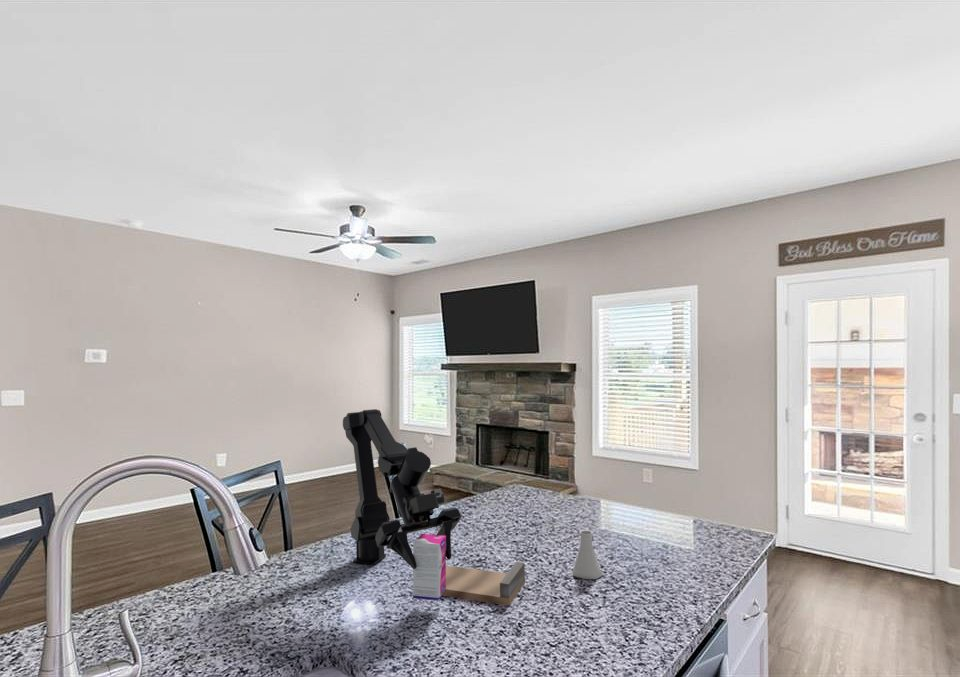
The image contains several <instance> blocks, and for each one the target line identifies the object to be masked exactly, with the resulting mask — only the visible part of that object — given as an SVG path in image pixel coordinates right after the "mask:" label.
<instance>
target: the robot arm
mask: <svg viewBox="0 0 960 677" xmlns="http://www.w3.org/2000/svg"><path fill="white" fill-rule="evenodd" d="M342 428H343V430H344V431H345V437H346V439H347V440H348V441H349V442H350V443H351V444H352V446H353V452H354V460H355V468H356V479H357V485H358V486H357V487H358V495H359V502H358V504H357V506H356V508H355V511H354V513H355V514H354V515H355V517H354V520H353V522H352V524H351V527H350V537H351V538H352V539H353V540H355V544H356V545H355V546H356V548H355V549H356V554H355V555H356V558H354V559H353V560H352V562H353V563H356V564H357V563H358V564H364V565H370V566H371V565H372V566H374V565H376V564H378V562H380V561H381V560H383V559H385V558H386V557H387V554H386V553H385V547H386V549H387V550H391V551H393V552H395V553H396V554H397V555H399V557H401V559H403V561H405V562H406V564H408V566H409V567H411V568H412V570H413V569H416V567H417V565H416V561H415V558H414V556H413V550H412V548H411V546H410V544H409V541H408V534H410V533H415V532H420V531H423V530H429V529H433V528H436V530H437V531H438V532H437V533H436V535H445V536H446V560H451V558H452V544H451V543H452V542H451V537H452V536H451V535H452V531H453V530H454V529H455V528H456V526H457V525H458V524H459V522H460V520H461V519H462V518H463V516H462V513H461V511H460V509H458V508H457V507H449V508H446V509H442V510H441V511H440V513H439V514H438V516H436V517H432V518H431V516H433V515H434V513H435V511H434V510H435V509H439V508H440V506H439V505H441V504H444V503H445V501H446V500H445V496H444V492H443V491H442V489H441V488H435V489H433V490H430V493H426V494H425V493H423V492H421V490H420V488H419V486H420V485H421V483H423V481H424V480H425V478H426V475H427V473H428V471H429V470H430V468H431V464H432V462H431V459H430V457H429V456H428V455H427V454H426V453H424V452H422V451H419V450H418V448H417V447H415V446H414V447H410V448H409V447H408V448H407V447H406V446H405V445H404V444H402V443H401V442H397V441H396V439H395V438H394V436H393V434H392V433H391V431H390V429H389V428H388V426H387V424H386V422H385V421H384V419H383V417H382V412H381V410H380V409H363V410H362V411H356V412H348V413H346V416H344V417H343V418H342ZM372 444H373V445H374V447H375V450H376V451H377V453H378V457H377V458H378V459H377V465H378V470H379V473H381V475H382V476H384V477H387V478H388V477H393V476H394V477H393V478H392V480H391V482H390V487H389V493H393V495H394V499H395V501H396V504H397V507H398V508H397V510H396V512H397V515H398V516H399V515H401V519H402V521H403V524H401V521H400V520H398V519H394V520H390V516H389V513H388V511H387V503H386V502H385V501H383V500H382V499H381V497H379V494H378V488H377V478H376V472H375V463H374V456H373V449H372V448H373V447H372Z"/></svg>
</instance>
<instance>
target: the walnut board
mask: <svg viewBox="0 0 960 677" xmlns="http://www.w3.org/2000/svg"><path fill="white" fill-rule="evenodd" d="M525 568H526V567H525V562H521V561H515V563H514V564H513V565H512V566H511V568H510V569H508V570H509V571H508V572H498V571H492V570H485V569H478V568H477V569H475V568H470V567H469V568H467V567H461V566H455V565H454V566H453V565H452V566H451V565H446V589H445V590H444V591H443V593H442V595H441V596H444V597H451V598H457V599H464V600H468V601H469V600H470V601H477V602H481V603H490V604H495V605H501V604H502V606H508V605H511V604H512V603H513V601H514V600H513V599H515V598H516V597H515V596H517V595H518V594H519V592H520V591H519V590H521V589H522V588H523V587H524V585H525V583H526V574H525V572H526V571H525V570H526V569H525ZM523 584H524V585H523ZM521 587H522V588H521ZM517 593H518V594H517ZM511 602H512V603H511Z"/></svg>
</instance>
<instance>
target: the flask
mask: <svg viewBox="0 0 960 677" xmlns="http://www.w3.org/2000/svg"><path fill="white" fill-rule="evenodd" d="M578 533H579V536H580V543H579V544H580V545H579V549H578V553H577V557H576V559H575V563H574V565H573V568H572V574H573V575H572V576H573V577H577V578H580V579H583V580H597V579H599V578H600V577H602V576H603V572H602V569H601V567H600V563H599V561H598V559H597V556H596V553H595V549H594V546H593V541H592V539H593V538H592V537H593V534H594V533H593V531H592V530H587V529H582V530H579V532H578Z"/></svg>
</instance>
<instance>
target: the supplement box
mask: <svg viewBox="0 0 960 677" xmlns="http://www.w3.org/2000/svg"><path fill="white" fill-rule="evenodd" d="M412 543H413V544H412V545H413V549H412V553H413V556H414V558H415V561H416V565H417V567H416V569H413V568H412V577H413V578H412V599H414V600H428V601H429V600H430V601H439V600H440V598H441V596H443V595H442V593H443V591H444V590H445V589H446V566H447V557H446V536H445V535H437V534H431V533H421V534H420V535H419V536H418V537H417V538H416V539H415V540H414V541H413V542H412Z"/></svg>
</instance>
